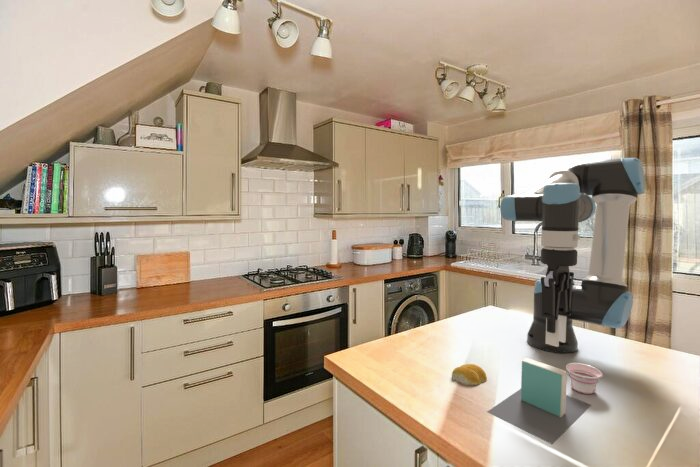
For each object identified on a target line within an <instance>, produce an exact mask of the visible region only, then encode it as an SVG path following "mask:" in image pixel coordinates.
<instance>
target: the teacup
mask: <svg viewBox="0 0 700 467" xmlns="http://www.w3.org/2000/svg"><path fill="white" fill-rule="evenodd" d="M565 371H567V374H568V376H569V378H570V386H571V388H572V389H573V390H575V391H576V392H578V393H580V394H583V395H591V394H594V393H596V392H597V388H596V387H597V383H599V380H600V379H602V378H603V372H602V371H601V370H600V369H599V368H597V367H595V366H593V365H590V364H586V363H582V362H569V363H568V364H566V365H565Z"/></svg>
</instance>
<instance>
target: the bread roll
mask: <svg viewBox="0 0 700 467" xmlns="http://www.w3.org/2000/svg"><path fill="white" fill-rule="evenodd" d="M451 376H452V379H453V381H455V382H459V383H462V384H463V385H466V386H477V385H480V384H481V383H485V382H486V381H487V378H488V377H487V374H486V372H485V370H484V369H483V368H482V367H480V366H479V365H478V364H474V363H468V364H467V363H466V364H463V365H460V366H457V367H455V368H454V369H453V370H452V373H451Z"/></svg>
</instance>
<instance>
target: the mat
mask: <svg viewBox="0 0 700 467" xmlns="http://www.w3.org/2000/svg"><path fill="white" fill-rule="evenodd" d="M591 406H592V404H591V403H588V402H585V401H582V400H580V399H578V398H574V397H572V396H570V395H567V394H566V411H565V414H564V415H563V416H562V417H559V416H557V415H555V414H552V413H550V412H548V411H545V410H543V409H541V408H538V407H536V406H534V405H532V404H529V403H527V402H525V401H522V400H521V388H519V389H518V390H516V392H514V393H512V394H510V395H508V397H506V398H505V399H504V400H502V401H501V402H499V403H498V404H496V405H495V406H493V407H491V408H490V409H489V410H487V411H486V413H489V414H490V415H492V416H494V417H496V418H499V419H500V420H502V421H504V422H506V423H509V424H510V425H513V426H515V427H517V428H518V429H520V430H522V431H524V432H527V433H529V434H531V435H533V436H535V437H537V438H539V439H541V440H542V441H545V442H547V443H548V444H551V445H553V444H554V443H555V442H556V441H558V439H559V438H560V437H561V436H563V435H564V433H565V432H566V431H567V430H568V429H569V428H570V427H571V426H573V424H574V423H575V422H576V421H577V420H579V418H580V417H581V416H582V415H584V413H586V411H587V410H588V409H589V408H590V407H591Z"/></svg>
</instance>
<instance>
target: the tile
mask: <svg viewBox="0 0 700 467" xmlns="http://www.w3.org/2000/svg"><path fill="white" fill-rule="evenodd" d="M567 380H568V371H567V370H566V369H561V368H558V367H555V366H554V365H553V366H552V365H550V364H547V363H543V362H542V361H541V362H540V361H537V360H535V359H531V358H528V357H525V358H524V359H522V360H521V381H520V383H521V384H520V389H521V400H522V401H525V402H527V403H529V404H532V405H534V406H536V407H538V408H541V409H543V410H545V411H548V412H550V413H552V414H555V415H557V416H559V417H562V416H563V415H564V414H565V411H566V395H567Z"/></svg>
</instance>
